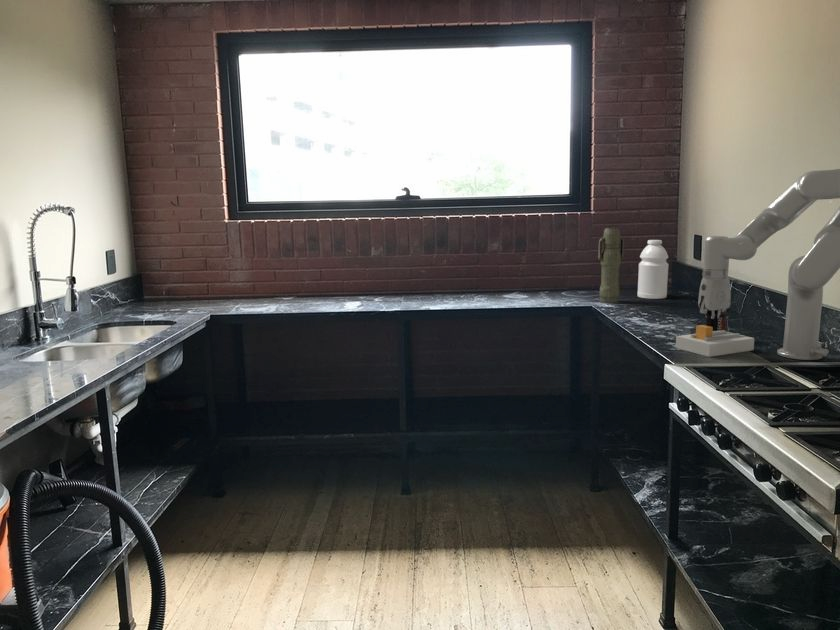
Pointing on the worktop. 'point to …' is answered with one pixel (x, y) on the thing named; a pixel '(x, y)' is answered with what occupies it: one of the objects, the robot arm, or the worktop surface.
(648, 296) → the bottle
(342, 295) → the worktop surface
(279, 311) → the worktop surface
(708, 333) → the block
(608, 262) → the thermos
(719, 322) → the deodorant
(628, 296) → the worktop surface
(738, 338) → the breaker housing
